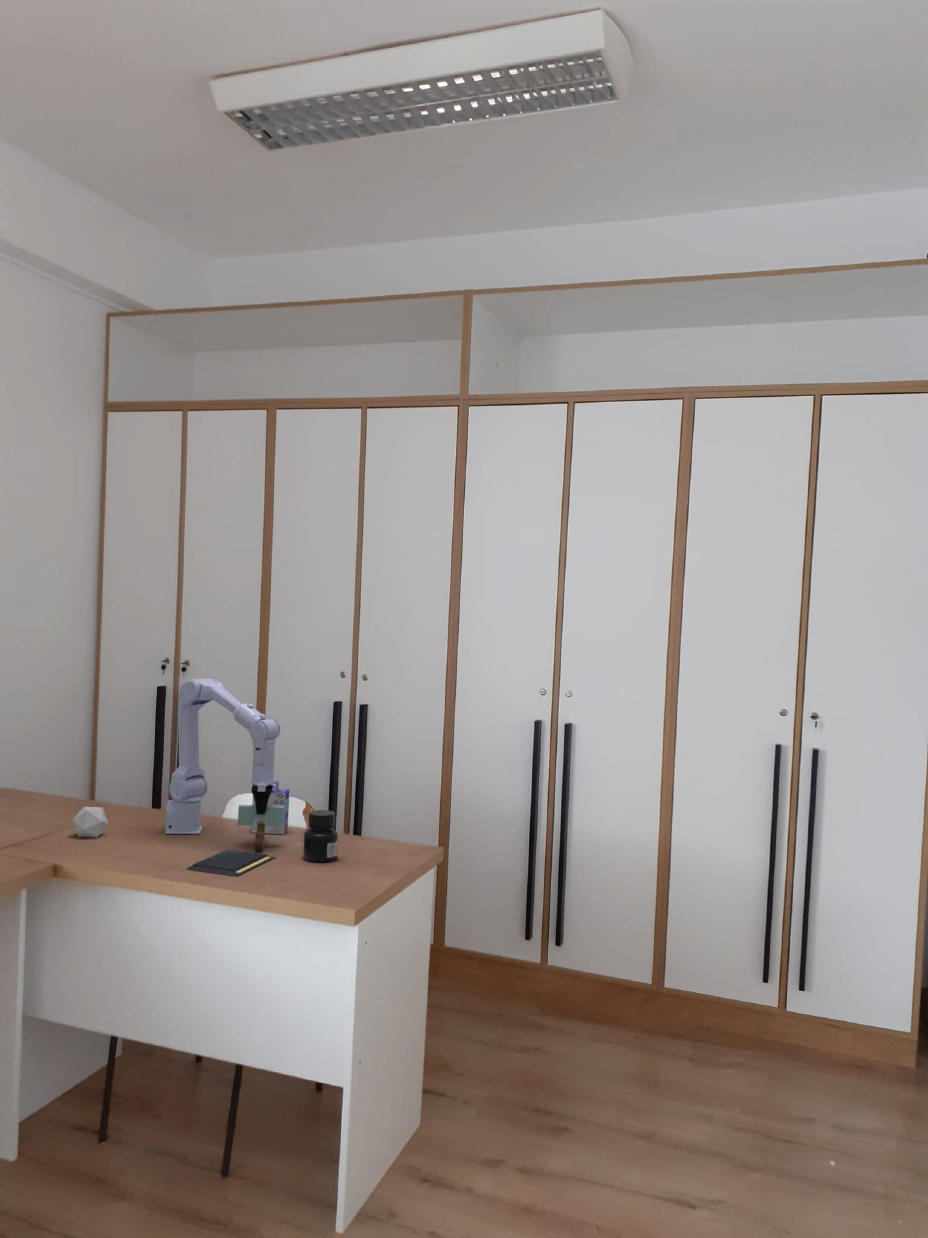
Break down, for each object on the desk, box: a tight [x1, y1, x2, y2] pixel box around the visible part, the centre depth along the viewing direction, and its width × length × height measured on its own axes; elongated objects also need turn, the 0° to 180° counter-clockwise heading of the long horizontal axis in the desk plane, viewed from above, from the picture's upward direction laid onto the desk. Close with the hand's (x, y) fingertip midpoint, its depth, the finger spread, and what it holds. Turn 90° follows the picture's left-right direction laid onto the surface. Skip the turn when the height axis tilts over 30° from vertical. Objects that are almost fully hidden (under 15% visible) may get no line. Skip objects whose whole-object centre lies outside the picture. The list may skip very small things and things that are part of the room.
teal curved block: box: [237, 804, 284, 827], centre depth 256 cm, size 12×2×5 cm, turn 100°
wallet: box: [186, 848, 277, 878], centre depth 238 cm, size 20×2×15 cm
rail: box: [254, 821, 266, 854], centre depth 256 cm, size 15×2×5 cm, turn 10°
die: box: [72, 806, 109, 839], centre depth 258 cm, size 8×9×10 cm
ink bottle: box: [302, 809, 339, 863], centre depth 246 cm, size 10×9×12 cm
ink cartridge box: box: [250, 781, 290, 835], centre depth 273 cm, size 10×6×14 cm, turn 89°
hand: (261, 813), depth 256 cm, fingers closed on teal curved block, 2 cm apart
